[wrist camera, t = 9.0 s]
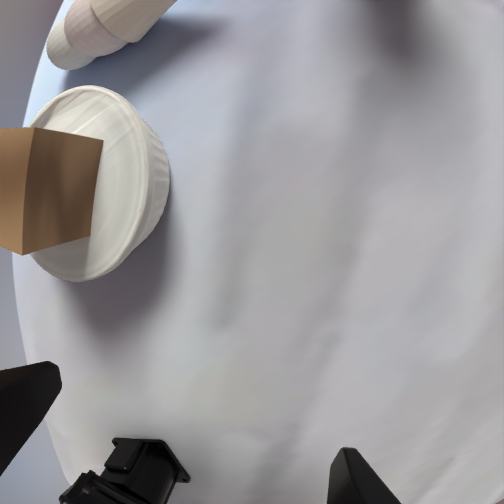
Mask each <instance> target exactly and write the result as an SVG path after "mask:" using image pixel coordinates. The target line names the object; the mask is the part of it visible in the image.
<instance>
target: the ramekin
mask: <svg viewBox="0 0 504 504" xmlns="http://www.w3.org/2000/svg"><path fill="white" fill-rule="evenodd" d="M28 127H37V128H43V129H49V130H54V131H60V132H65V133H71V134H76V135H81V136H86V137H91V138H96V139H101V140H104V141H103V146H102V151H101V156H100V162H99V168H98V174H97V181H96V188H95V195H94V203H93V212H92V221H91V233H90V236H89V237H85V238H81V239H78V240H74V241H70V242H67V243H63V244H60V245H56V246H53V247H49V248H46V249H42V250H39V251H36V252H32V253H29V254H30V255H31V256H32V258H33V259H34V260H35V261H36V262H37V263H38V264H39V265H40V266H41V267H42V268H43V269H44V270H45V271H47V272H48V273H50V274H51V275H53V276H55V277H57V278H60V279H62V280H66V281H70V282H74V283H76V282H85V281H90V280H94V279H96V278H99V277H101V276H103V275H105V274H107V273H109V272H111V271H112V270H114V269H115V268H116V267H117V266H119V265H120V264H121V263H122V262H123V261H124V260H125V259H126V258H127V256H128V255H129V254H130V253H131V252H132V250H133V249H135V248H136V247H137V246H138V245H140V244H141V243H142V241H143V240H145V239H146V238H147V237H148V236H149V234H150V233H151V232H152V231H153V230H154V228H155V226H156V225H157V223H158V222H159V220H160V217H161V215H162V214H163V210H164V207H165V205H166V202H167V196H168V193H169V184H170V172H169V163H168V159H167V155H166V151H165V149H164V147H163V144H162V142H161V141H160V139H159V137H158V135H157V134H156V133H155V132H154V131H153V129H152V128H151V126H150V125H149V124H148V123H147V122H145V121H144V120H143V119H142V118H141V116H140V115H139V113H138V112H137V110H136V109H135V108H134V107H133V106H132V105H131V104H130V103H129V102H128V101H127V100H126V99H125V98H124V97H122V96H121V95H119V94H118V93H116V92H114V91H112V90H109V89H107V88H103V87H99V86H93V85H86V86H79V87H75V88H72V89H69V90H67V91H65V92H63V93H61V94H59V95H57V96H56V97H54V98H53V99H52V100H51V101H49V102H48V103H47V104H46V105H45V106H44V107H43V108H42V109H41V110H40V111H39V112H38V113H37V115H36V116H35V117H34V119H33V120H32V121H31V123H30V124H29V126H28Z"/></svg>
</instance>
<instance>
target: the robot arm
mask: <svg viewBox="0 0 504 504" xmlns="http://www.w3.org/2000/svg"><path fill="white" fill-rule="evenodd" d="M61 388H62V381H61V376H60V370H59V367H58V366H57V365H56V364H54V363H52V362H50V361H44V362H40V363H35V364H30V365H26V366H21V367H16V368H11V369H5V370H0V476H1V475H2V473H3V472H4V471H5V469H6V468H7V466H8V465H9V464H10V462H11V461H12V459H13V458H14V457H15V456H16V454H17V453H18V452H19V450H20V449H21V448H22V446H23V445H24V444H25V442H26V441H27V440H28V438H29V437H30V436H31V434H32V433H33V432H34V430H35V429H36V428H37V427H38V425H39V424H40V423H41V421H42V420H43V418H44V417H45V415H46V413H47V412H48V410H49V409H50V407H51V405H52V404H53V402H54V401H55V399H56V397H57V396H58V394H59V393H60V391H61ZM112 443H113V444H114V446H115V447H116V448H115V449H114V451H113V452H112V454H111V455H110V457H109V458H108V459H107V461H106V462H105V464H104V466H105V469H104V471H103V472H102V474H101V475H100V476H98V475H97V474H95V472H93V471H92V470H89V472H88V473H83V472H82V474H81V475H80V476H79V478H78V479H77V481H76V482H75V483H74V484H73V485H72V486H71V487H70V488H69V489H67V490H66V491H65V492H64V493H63V494H62V495H61V496H60V497H59V501H60V504H167V502H168V499H169V497H170V495H171V492H172V490H173V488H174V485H175V483H176V482H183V483H188V482H189V481H190V477H189V476H188V474H187V473H186V472H185V470H184V469H183V467H182V466H181V465H180V463H179V462H178V460H177V459H176V458H175V456H174V455H173V453H172V452H171V450H170V449H169V447H168V446H167V444H166V443H165V442H164V441H162V440H155V439H129V438H113V440H112ZM327 504H401V503H400V501H399V500H398V499H397V498H396V497H395V496H394V494H393V493H392V492H391V491H390V490H389V488H388V487H387V486H386V485H385V484H384V482H383V481H382V480H381V479H380V478H379V476H378V475H377V474H376V473H375V471H374V470H373V469H372V468H371V467H370V465H369V464H368V463H367V462H366V460H365V459H364V458H363V457H362V455H361V454H360V453H359V452H358V451H357V449H355V448H348V447H343V448H341V449H340V450H339V452H338V454H337V456H336V457H335V459H334V461H333V462H332V464H331V467H330V476H329V487H328V498H327Z"/></svg>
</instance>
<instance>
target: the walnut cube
mask: <svg viewBox="0 0 504 504" xmlns="http://www.w3.org/2000/svg"><path fill="white" fill-rule="evenodd" d="M103 141H104V140H101V139H96V138H91V137H86V136H81V135H76V134H71V133H65V132H60V131H54V130H49V129H43V128H37V127H24V128H5V129H0V246H1V247H3V248H6V249H8V250H10V251H13V252H15V253H17V254H20V255H26V254H29V253H32V252H36V251H39V250H42V249H46V248H49V247H53V246H56V245H60V244H63V243H67V242H70V241H74V240H78V239H81V238H85V237H89V236H90V233H91V221H92V212H93V203H94V195H95V188H96V181H97V174H98V168H99V162H100V156H101V151H102V146H103Z"/></svg>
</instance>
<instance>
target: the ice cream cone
mask: <svg viewBox="0 0 504 504" xmlns="http://www.w3.org/2000/svg"><path fill="white" fill-rule="evenodd" d="M176 1H177V0H76V1H75V2H74V3H73V5H72V6H71V8H70V9H69V11H68V12H67V15H66V18H65V19H63V20H62V21H60V22H59V23H58V24H57V25H56V26H55V27H54V28H53V30H52V32H51V33H50V35H49V38H48V41H47V55H48V57H49V59H50V61H51V62H52V63H53V64H54V65H55V66H57V67H58V68H61V69H65V70H74V69H79V68H82V67H84V66H86V65H88V64H89V63H91V62H92V61H93V60H94V59H95V58H96V57H97V56H105V55H108V54H111V53H114V52H116V51H117V50H119V49H121V48H122V47H124V46H125V45H126V44H127V43H128V42H130V43H135V42H138V41H139V40H141V39H142V37H143V36H144V35H145V34H146V33H147V32H148V31H149V29H150V28H151V27H152V26H153V25H154V24H155V23H156V22H157V21H158V19H159V18H160V17H161V16H162V15H163V14H164V13H165V12H166V11H167V10H168V9H169V8H170V7H171V6H172V5H173V4H174V3H175V2H176Z"/></svg>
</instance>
